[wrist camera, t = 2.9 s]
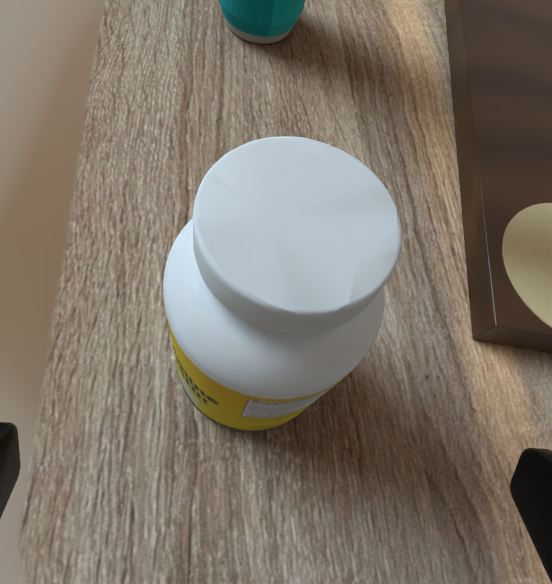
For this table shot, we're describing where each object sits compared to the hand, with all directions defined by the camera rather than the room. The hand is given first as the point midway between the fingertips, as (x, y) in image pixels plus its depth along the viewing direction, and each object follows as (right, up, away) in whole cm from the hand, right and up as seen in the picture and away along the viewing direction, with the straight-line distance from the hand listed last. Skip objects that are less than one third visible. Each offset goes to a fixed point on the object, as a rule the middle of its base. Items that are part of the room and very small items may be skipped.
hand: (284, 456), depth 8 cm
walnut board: (+19, +14, +22) cm, 33 cm away
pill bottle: (-1, 0, +12) cm, 12 cm away
